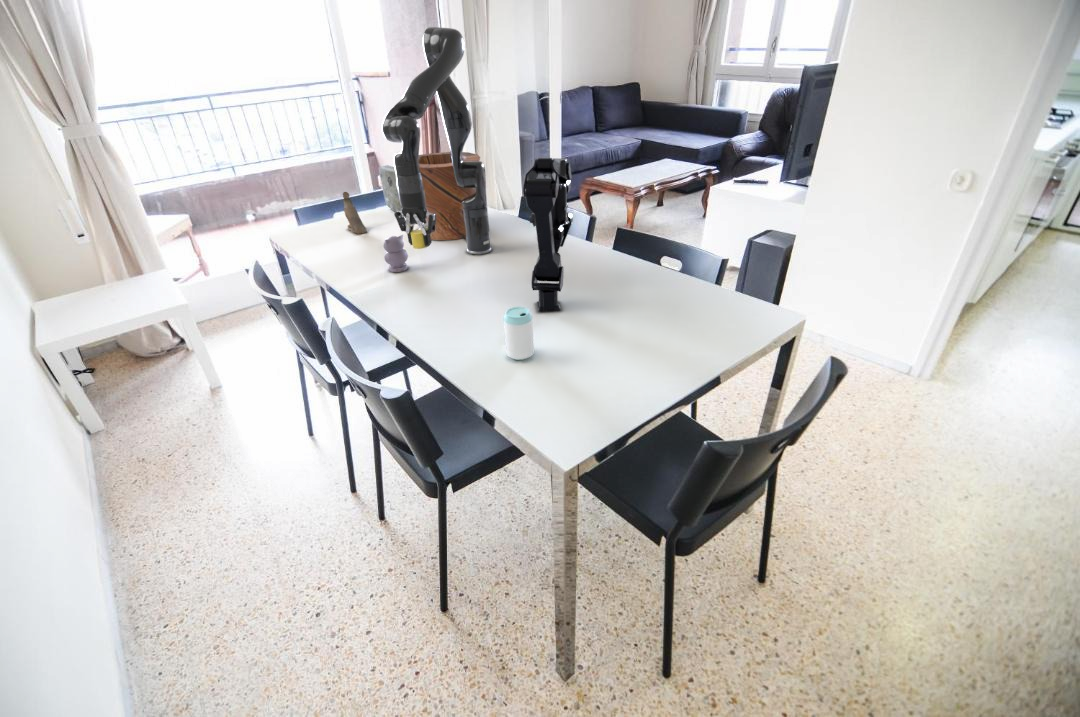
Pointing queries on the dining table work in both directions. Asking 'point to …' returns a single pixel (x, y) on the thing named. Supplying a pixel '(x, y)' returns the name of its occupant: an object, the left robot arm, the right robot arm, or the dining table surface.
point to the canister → (417, 239)
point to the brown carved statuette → (352, 216)
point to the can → (519, 333)
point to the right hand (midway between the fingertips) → (558, 251)
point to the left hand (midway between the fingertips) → (420, 244)
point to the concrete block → (390, 187)
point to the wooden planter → (444, 193)
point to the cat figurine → (395, 253)
